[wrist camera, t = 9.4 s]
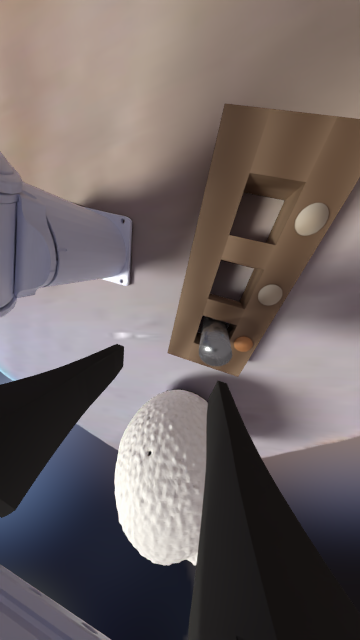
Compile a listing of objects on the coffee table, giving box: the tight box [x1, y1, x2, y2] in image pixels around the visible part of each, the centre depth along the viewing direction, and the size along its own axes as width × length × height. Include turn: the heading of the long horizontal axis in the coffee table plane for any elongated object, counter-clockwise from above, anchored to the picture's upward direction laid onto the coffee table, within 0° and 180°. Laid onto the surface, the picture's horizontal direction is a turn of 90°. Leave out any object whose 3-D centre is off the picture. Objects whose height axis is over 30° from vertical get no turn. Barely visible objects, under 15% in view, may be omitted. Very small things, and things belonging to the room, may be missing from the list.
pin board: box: [168, 104, 360, 377], centre depth 14 cm, size 10×22×3 cm, turn 167°
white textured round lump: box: [115, 390, 208, 565], centre depth 19 cm, size 20×18×16 cm
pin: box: [199, 316, 232, 366], centre depth 15 cm, size 3×3×7 cm
